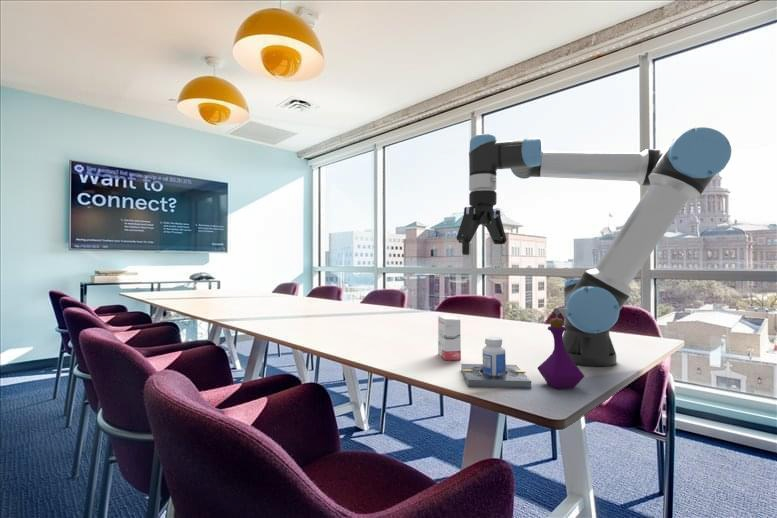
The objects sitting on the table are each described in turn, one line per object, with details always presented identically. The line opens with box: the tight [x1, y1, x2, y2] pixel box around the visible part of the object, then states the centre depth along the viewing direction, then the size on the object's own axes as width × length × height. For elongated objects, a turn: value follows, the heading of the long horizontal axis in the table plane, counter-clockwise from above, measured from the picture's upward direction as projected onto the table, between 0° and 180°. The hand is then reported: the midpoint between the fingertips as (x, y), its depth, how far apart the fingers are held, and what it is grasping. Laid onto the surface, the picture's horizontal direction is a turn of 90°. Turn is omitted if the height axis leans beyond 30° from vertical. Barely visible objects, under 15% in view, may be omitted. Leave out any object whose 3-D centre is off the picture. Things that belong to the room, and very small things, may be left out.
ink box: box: [437, 315, 462, 361], centre depth 120 cm, size 9×5×12 cm, turn 7°
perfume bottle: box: [537, 307, 585, 390], centre depth 93 cm, size 8×8×18 cm
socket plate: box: [461, 363, 532, 389], centre depth 99 cm, size 15×14×2 cm
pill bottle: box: [482, 336, 507, 376], centre depth 99 cm, size 6×5×10 cm
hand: (482, 266), depth 115 cm, fingers open, 13 cm apart
